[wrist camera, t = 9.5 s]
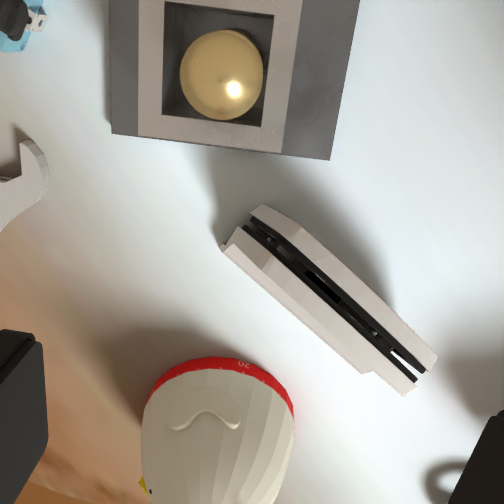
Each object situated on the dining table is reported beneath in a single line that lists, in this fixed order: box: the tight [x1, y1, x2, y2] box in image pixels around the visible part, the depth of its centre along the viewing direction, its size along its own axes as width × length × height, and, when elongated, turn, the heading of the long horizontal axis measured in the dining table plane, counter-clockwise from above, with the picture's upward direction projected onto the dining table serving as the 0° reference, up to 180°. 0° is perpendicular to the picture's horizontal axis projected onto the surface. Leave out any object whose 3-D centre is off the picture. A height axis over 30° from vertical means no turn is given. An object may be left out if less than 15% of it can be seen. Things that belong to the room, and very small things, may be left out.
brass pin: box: [180, 28, 263, 120], centre depth 24 cm, size 4×4×10 cm
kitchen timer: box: [139, 357, 295, 504], centre depth 36 cm, size 14×14×15 cm
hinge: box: [219, 204, 438, 396], centre depth 33 cm, size 17×5×10 cm, turn 46°
